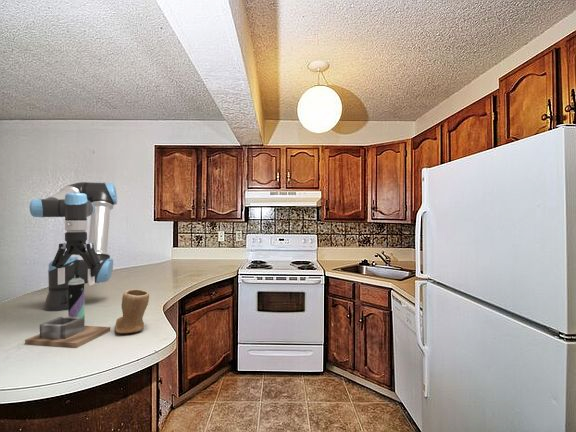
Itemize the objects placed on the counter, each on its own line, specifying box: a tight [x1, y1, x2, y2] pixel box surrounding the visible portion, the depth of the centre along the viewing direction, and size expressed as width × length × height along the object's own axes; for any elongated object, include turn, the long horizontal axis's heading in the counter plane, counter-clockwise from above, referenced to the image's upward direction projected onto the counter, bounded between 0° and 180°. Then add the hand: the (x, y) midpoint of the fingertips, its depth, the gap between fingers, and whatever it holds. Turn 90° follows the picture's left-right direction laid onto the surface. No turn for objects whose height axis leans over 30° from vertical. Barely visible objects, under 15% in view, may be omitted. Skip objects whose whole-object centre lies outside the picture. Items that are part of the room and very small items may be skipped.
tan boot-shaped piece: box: [114, 288, 150, 334], centre depth 128 cm, size 15×12×15 cm
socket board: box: [24, 316, 111, 349], centre depth 119 cm, size 20×16×6 cm
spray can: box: [67, 275, 86, 323], centre depth 133 cm, size 6×6×20 cm
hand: (76, 284), depth 133 cm, fingers open, 13 cm apart
